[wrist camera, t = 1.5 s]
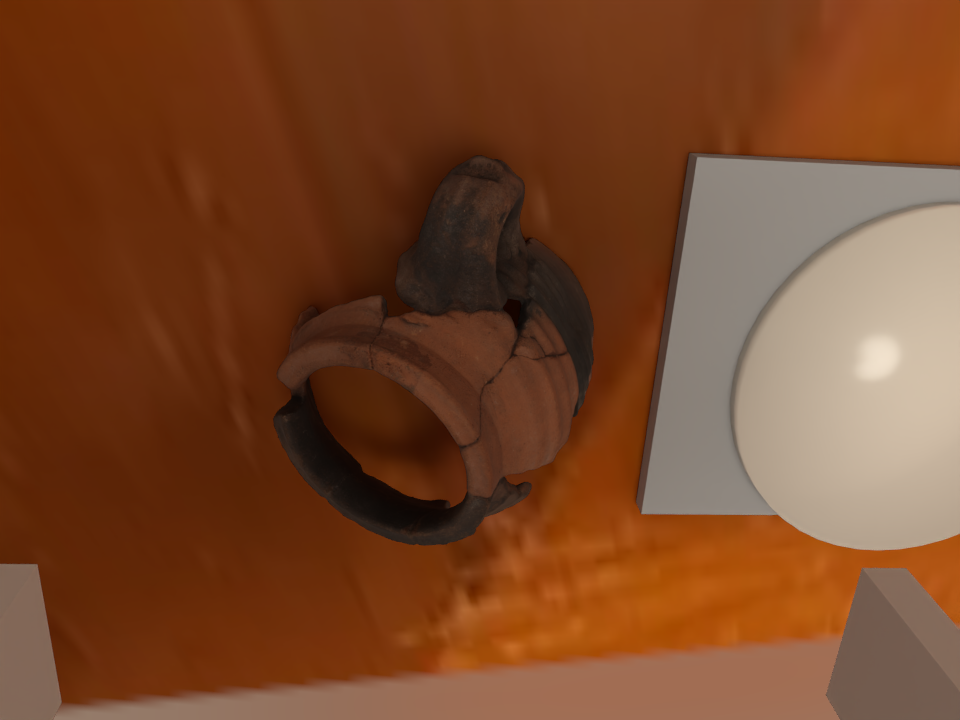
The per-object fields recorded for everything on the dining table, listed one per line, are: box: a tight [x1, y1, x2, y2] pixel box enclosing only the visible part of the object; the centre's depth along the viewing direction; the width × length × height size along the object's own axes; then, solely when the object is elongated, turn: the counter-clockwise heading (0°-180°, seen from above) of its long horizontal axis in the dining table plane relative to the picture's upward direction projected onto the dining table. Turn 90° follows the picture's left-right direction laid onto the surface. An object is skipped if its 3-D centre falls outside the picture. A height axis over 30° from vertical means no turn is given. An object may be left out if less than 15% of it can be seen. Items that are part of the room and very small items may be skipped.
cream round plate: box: [730, 202, 960, 550], centre depth 29 cm, size 13×13×1 cm
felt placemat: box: [636, 153, 960, 515], centre depth 30 cm, size 16×13×1 cm
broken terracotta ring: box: [273, 155, 594, 545], centre depth 26 cm, size 12×10×8 cm
